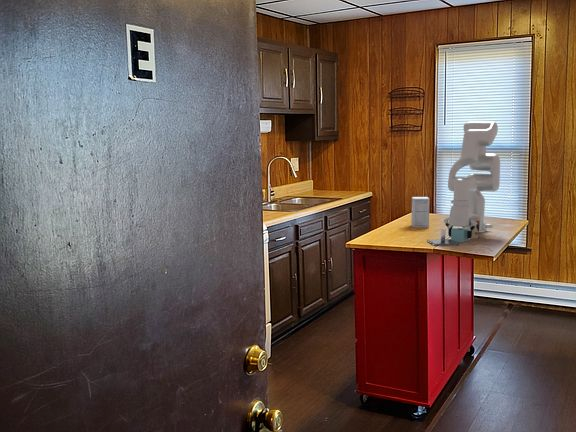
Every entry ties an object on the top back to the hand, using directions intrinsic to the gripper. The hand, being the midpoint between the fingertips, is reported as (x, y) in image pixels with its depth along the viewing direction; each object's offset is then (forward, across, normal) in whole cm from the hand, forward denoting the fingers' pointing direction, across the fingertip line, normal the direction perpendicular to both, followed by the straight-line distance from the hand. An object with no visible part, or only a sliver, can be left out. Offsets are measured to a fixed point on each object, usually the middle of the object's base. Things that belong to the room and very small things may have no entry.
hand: (459, 237), depth 303 cm
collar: (+2, 0, 0) cm, 2 cm away
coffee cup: (+2, 0, +13) cm, 13 cm away
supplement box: (+2, -38, +30) cm, 48 cm away
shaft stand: (+2, -3, -13) cm, 13 cm away
